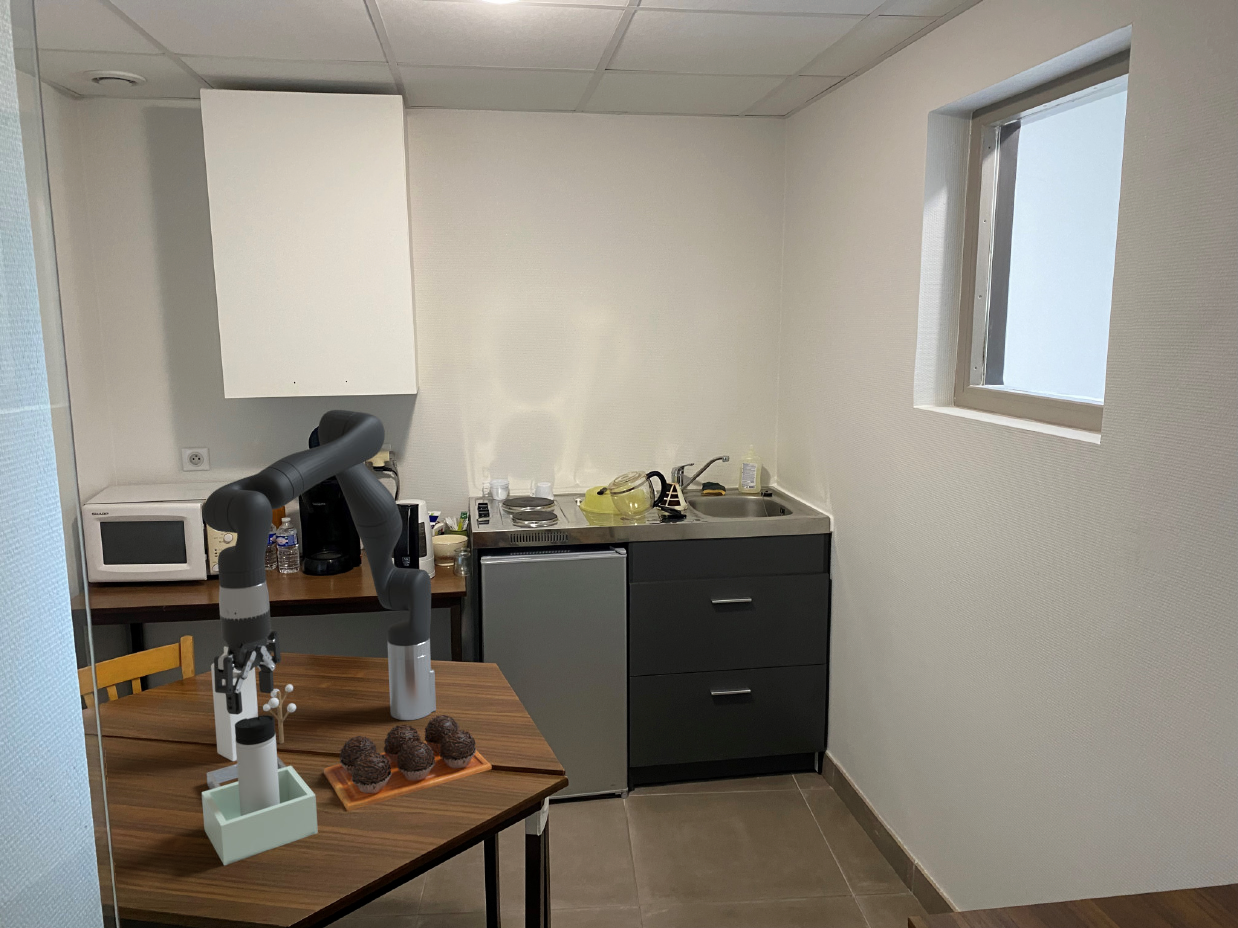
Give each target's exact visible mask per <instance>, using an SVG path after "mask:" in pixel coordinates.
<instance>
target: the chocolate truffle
mask: <svg viewBox="0 0 1238 928" xmlns="http://www.w3.org/2000/svg"><path fill="white" fill-rule="evenodd" d="M424 730H425V731H424V741H422V739H421V737H422V736H421V735H420V734H419V732H418V730H417V729H416V728H414V727H413V726H412V725H407V724H401V725H399V724H397V725H396V726H395V727H392V729H390V731H388V732H387V735H386V738H384V744H385V745H384V746H383V752H381V753H380V752H378V751H377V745H376V743H374V742H373V740H371V738H369V737H367V736H362V735H358V736H355V737H354V736H353V737H351V738H349V739H347V740H346V741H345V743H344V745H343V746H342V748H341V749H340V750H339V751H340V753H338V755H339V759H340V760H339V764H335V765H331V766H328V767H325V768H323V774H324V776H325V778H326V780H328V782H329V784H330V785H331V787H332V788H333V790H334V791H335V794H336V795H337V797H338V798H339V799H340V800H339V801H341V803H342V805H343V806H344V807H345V810H346V811H347V812H350V811H353V810H357V809H360V808H363V807H367V806H370V805H373V804H377V803H380V802H381V803H382V802H383V801H389V800H391V799H395V798H397V797H402V796H406V795H407V794H411V793H415V792H418V791H421V790H425V789H428V788H432V787H435V786H439V785H442V784H446V783H450V782H453V781H456V780H459V779H462V778H466V777H470V776H473V775H477V774H479V773H483V772H486V771H490V770H492V769H493V768H492V767H493V766H492V764H491V763H490V762H488V761H487V760H486V758H484V757H483V755H482V754H480V753H479V751H478V750H477V748H476V745H477V743H476V740H475V738H474V737H473V735H472V734H471V733H470V731H467V730H466V731H465V730H463V729H460V726H459V724H458V723H457V721H456V720H455V719H454V718H453V717H452V716H450V715H446V714H442V715H436V716H435V717H431V719H429V721H428V722H427V725H426V727H424Z"/></svg>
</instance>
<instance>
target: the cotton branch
mask: <svg viewBox="0 0 1238 928" xmlns="http://www.w3.org/2000/svg"><path fill="white" fill-rule="evenodd" d="M273 689H274V690H273V691H272V692H271V693H270V697H271V698H270V699H269V700H268V703H265V704H264V705H263V706H262V710H263V711H265V712H269V713H271V715H272V716H273V717H274V718H276V719H277V725H278V739H279V741H278V743H279V744H284V743H285V739H284V738H285V735H284V721H285V719H286V718H287V716H288V715H289V714H290V713H294V712H295V711H296V710H297V705H296V704H295V703H288V705H287V706H286V710H287V711H286V713H285V714H284V715H283V707H282V706H283V703H284V701H285V699H286V698H287V697H288V694H289V693H291V692H293V690H294V686H293V684H290V683H289V684H287V685H286V686H285V688H284V690H285V692H284V694H283V696H282V693H281V691H280V689H278V688H273ZM275 708H276V709H277V712H274V711H273V710H272V709H275ZM276 713H277V714H276Z"/></svg>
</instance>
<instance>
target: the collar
mask: <svg viewBox="0 0 1238 928" xmlns="http://www.w3.org/2000/svg"><path fill="white" fill-rule="evenodd" d="M277 766H278V769H281V768H284V767H287V766H286V764H285V763H284V761H282V759H281V758H280V757H279V756H278V755H277ZM234 779H238V770H237V763H236V764H232V765H229V766H226V767H222V768H219V769H218V768H217V769H215V770H212V771H208V772H206V781H207V786H208V788H209V790H211V789H214V788H218V787H221V783H224V782H229V781H231V780H234Z"/></svg>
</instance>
